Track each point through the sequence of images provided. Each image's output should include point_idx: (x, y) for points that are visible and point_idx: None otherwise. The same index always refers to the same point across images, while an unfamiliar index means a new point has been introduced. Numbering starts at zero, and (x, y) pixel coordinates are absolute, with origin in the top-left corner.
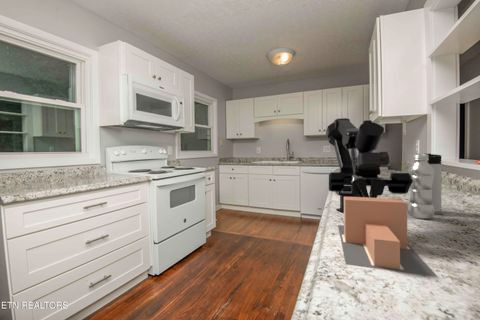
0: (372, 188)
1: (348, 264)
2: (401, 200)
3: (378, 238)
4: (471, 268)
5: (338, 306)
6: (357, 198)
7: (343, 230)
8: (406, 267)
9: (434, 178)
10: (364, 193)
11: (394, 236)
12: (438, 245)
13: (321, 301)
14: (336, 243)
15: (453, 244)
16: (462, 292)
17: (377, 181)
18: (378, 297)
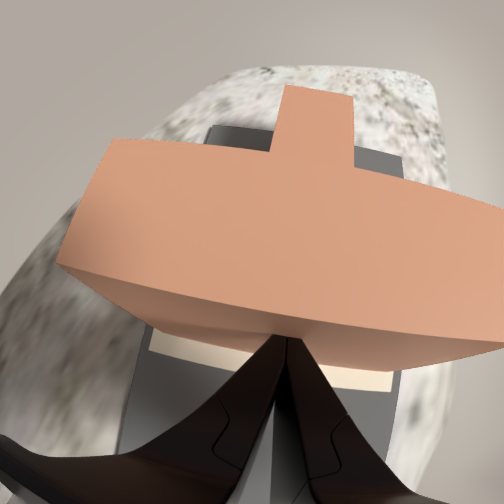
0: (223, 478)
1: (395, 155)
2: (94, 199)
3: (339, 100)
4: None
5: (403, 79)
6: (440, 263)
7: None
8: (260, 149)
9: None
10: (346, 435)
11: (282, 111)
12: (55, 322)
13: (423, 87)
14: None
15: (16, 329)
16: (202, 103)
17: (86, 494)
18: (351, 86)
